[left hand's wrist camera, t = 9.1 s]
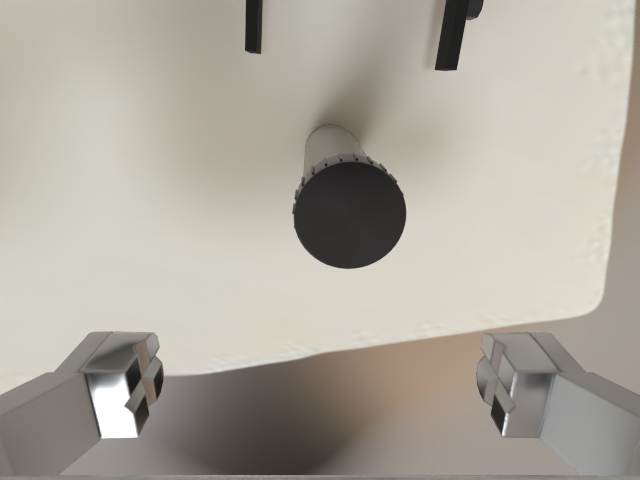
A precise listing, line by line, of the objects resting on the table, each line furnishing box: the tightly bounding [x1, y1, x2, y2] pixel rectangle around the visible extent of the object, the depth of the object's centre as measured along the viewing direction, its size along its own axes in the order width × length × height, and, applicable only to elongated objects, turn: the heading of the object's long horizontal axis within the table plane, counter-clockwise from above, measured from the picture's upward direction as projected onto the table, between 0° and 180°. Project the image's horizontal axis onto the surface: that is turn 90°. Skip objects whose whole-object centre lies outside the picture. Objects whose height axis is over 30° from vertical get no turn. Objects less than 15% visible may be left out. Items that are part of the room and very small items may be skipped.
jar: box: [303, 125, 367, 177], centre depth 29 cm, size 5×5×19 cm
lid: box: [292, 153, 406, 269], centre depth 20 cm, size 5×5×2 cm
